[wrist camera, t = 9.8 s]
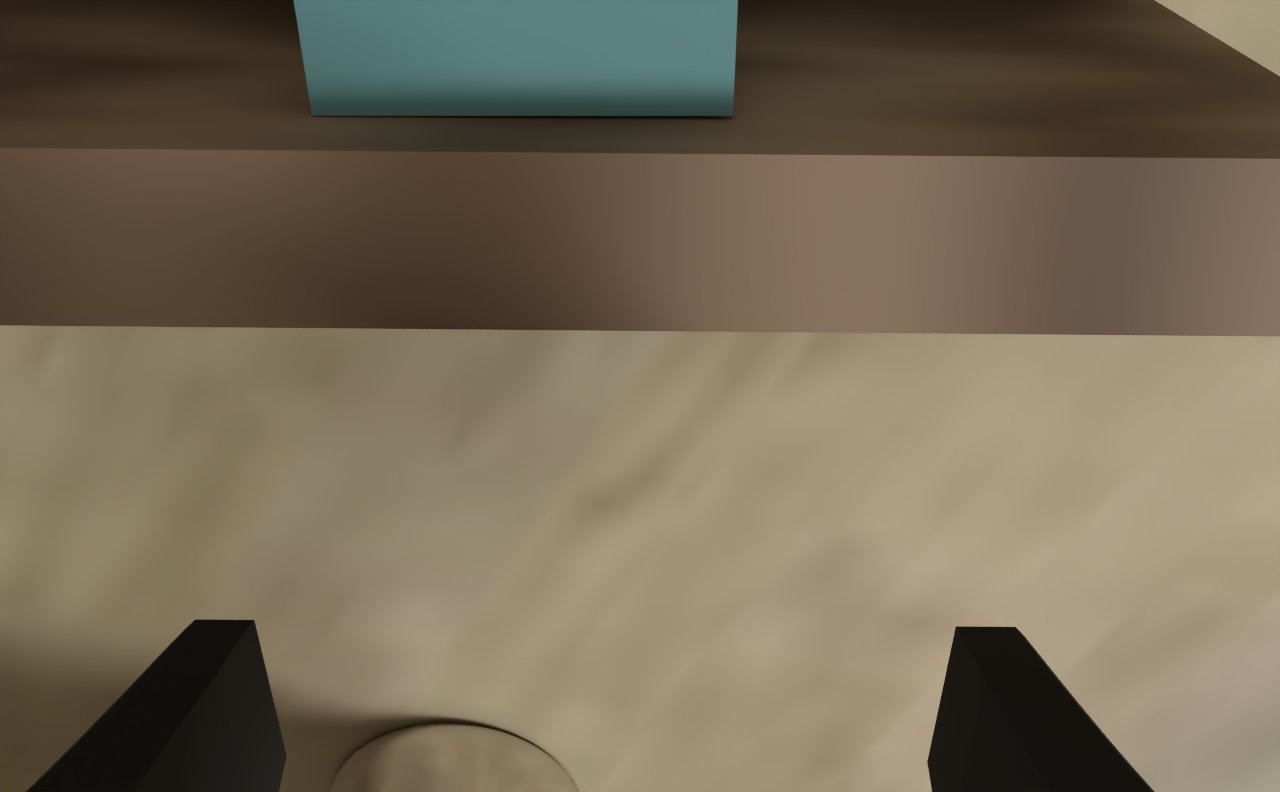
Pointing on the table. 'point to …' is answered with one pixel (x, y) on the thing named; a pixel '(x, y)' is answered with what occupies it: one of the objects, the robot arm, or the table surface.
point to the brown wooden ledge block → (652, 181)
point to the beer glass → (451, 763)
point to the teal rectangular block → (519, 57)
